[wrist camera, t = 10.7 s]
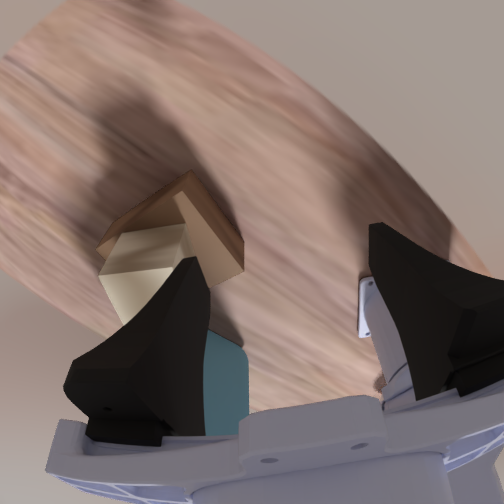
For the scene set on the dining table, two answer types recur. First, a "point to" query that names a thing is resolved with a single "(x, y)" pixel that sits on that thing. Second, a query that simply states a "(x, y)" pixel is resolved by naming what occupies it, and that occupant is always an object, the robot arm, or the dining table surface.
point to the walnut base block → (198, 225)
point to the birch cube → (142, 266)
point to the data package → (224, 386)
